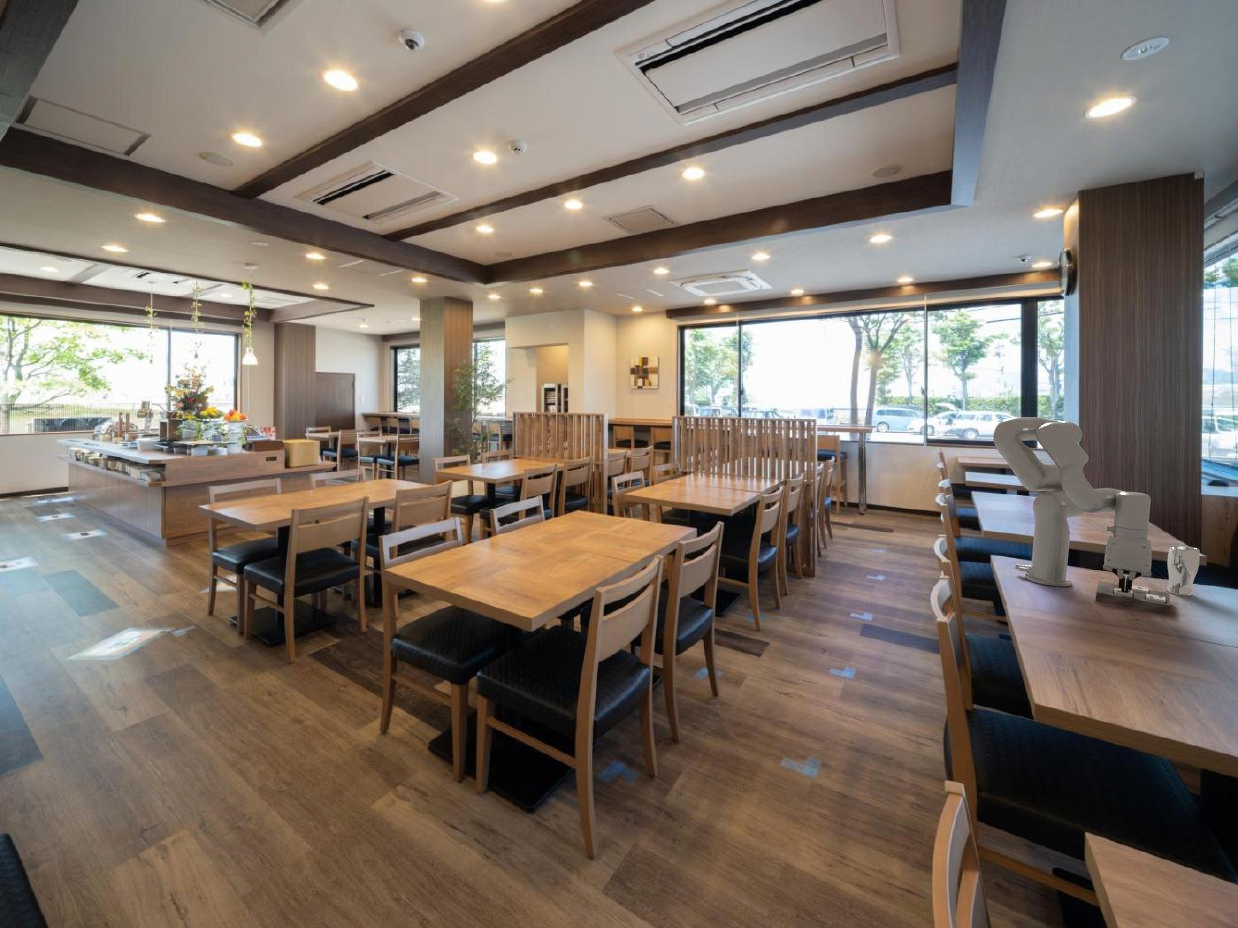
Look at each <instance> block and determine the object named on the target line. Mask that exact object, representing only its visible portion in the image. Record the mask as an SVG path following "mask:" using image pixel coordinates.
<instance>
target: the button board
mask: <svg viewBox="0 0 1238 928" xmlns="http://www.w3.org/2000/svg"><path fill="white" fill-rule="evenodd" d="M1118 585H1119V583H1118V584H1117V583H1112V582H1106V581H1098V584H1097V588H1096V593H1095V602H1096V603H1102V604H1107V605H1112V606H1116V607H1117V606H1118V607H1122V608H1123V607H1124V608H1127V609H1128V608H1129V609H1133V610H1137V611H1138V610H1139V611H1142V612H1143V611H1144V612H1149V613H1153V614H1159V615H1164V616H1170V611H1171V601H1170V600H1171V599H1170V593H1169V592H1166V591H1165V592H1164V591H1160V590H1159V591H1158V590H1153V589H1148V591H1149V592H1148V594H1151V595H1157V596H1163V597H1165V600H1166V601H1165V603H1162V602H1156V601H1150V600H1146V593H1140V592H1134V591H1133V593H1132V597H1128V596H1123V595H1117V594H1114V590H1115V588H1118ZM1118 589H1121V588H1118ZM1124 590H1125V589H1124ZM1128 590H1129V589H1128ZM1129 591H1130V590H1129Z"/></svg>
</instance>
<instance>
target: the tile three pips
mask: <svg viewBox="0 0 1238 928" xmlns="http://www.w3.org/2000/svg"><path fill="white" fill-rule="evenodd" d="M1132 593H1133V591H1129V590H1128V593H1126V592H1125V590H1124V592H1121V589H1118V588H1115V590H1114V594H1117V595H1123V596H1128V597H1132Z"/></svg>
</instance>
